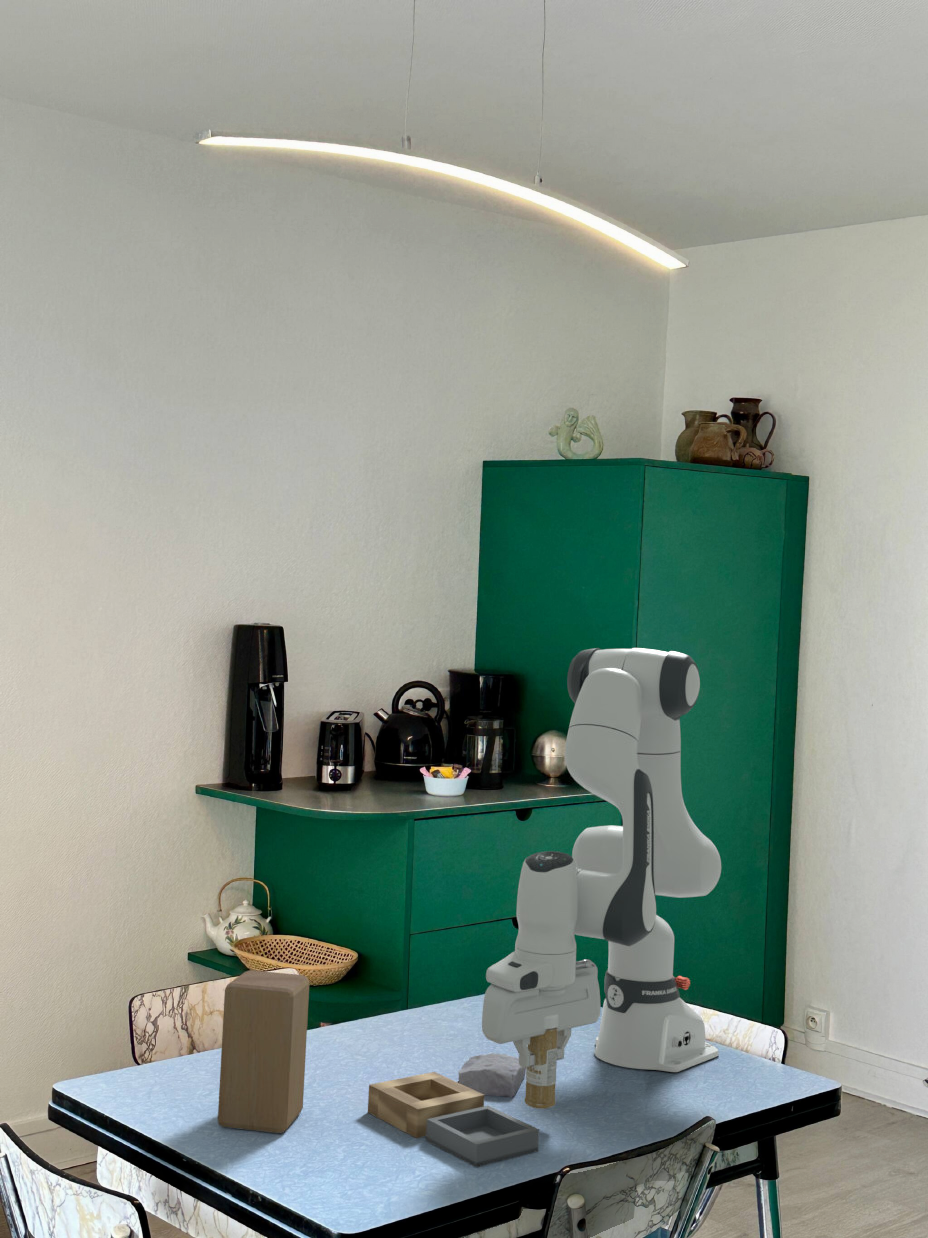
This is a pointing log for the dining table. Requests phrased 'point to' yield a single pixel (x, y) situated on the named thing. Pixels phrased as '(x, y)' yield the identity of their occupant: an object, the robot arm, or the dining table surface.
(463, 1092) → the oak bore block
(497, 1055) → the stone block
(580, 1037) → the dining table surface
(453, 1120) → the tray
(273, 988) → the wooden block
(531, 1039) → the sprinkles bottle
